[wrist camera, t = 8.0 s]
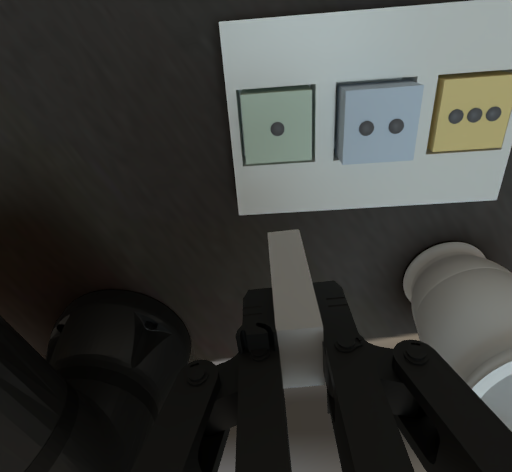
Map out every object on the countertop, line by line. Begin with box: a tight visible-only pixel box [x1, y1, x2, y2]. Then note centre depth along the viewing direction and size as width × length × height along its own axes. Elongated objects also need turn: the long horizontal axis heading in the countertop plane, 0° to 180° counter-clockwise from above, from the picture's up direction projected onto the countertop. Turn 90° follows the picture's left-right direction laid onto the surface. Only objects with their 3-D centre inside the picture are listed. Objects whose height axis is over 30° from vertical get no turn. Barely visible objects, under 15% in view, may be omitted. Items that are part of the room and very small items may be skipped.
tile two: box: [335, 80, 424, 165], centre depth 26 cm, size 5×5×3 cm
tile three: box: [427, 70, 512, 152], centre depth 27 cm, size 5×5×3 cm
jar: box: [403, 242, 512, 432], centre depth 31 cm, size 11×10×15 cm
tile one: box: [240, 85, 312, 164], centre depth 28 cm, size 5×5×3 cm
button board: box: [219, 0, 512, 215], centre depth 28 cm, size 21×14×4 cm, turn 94°
